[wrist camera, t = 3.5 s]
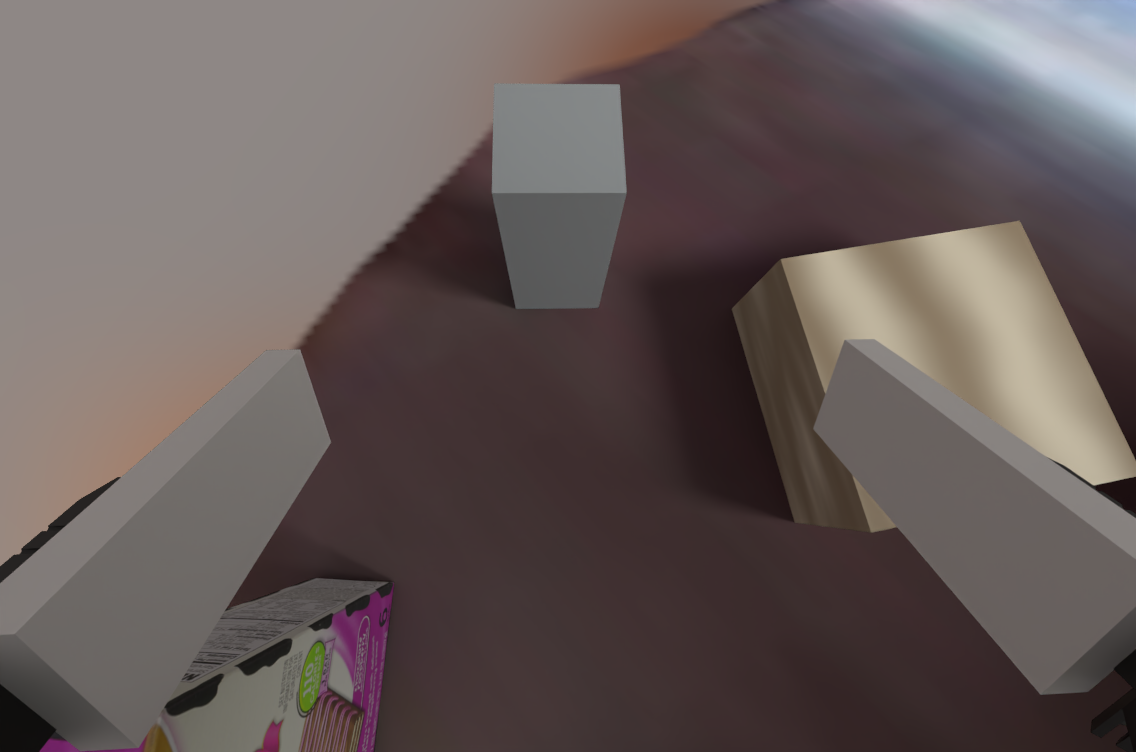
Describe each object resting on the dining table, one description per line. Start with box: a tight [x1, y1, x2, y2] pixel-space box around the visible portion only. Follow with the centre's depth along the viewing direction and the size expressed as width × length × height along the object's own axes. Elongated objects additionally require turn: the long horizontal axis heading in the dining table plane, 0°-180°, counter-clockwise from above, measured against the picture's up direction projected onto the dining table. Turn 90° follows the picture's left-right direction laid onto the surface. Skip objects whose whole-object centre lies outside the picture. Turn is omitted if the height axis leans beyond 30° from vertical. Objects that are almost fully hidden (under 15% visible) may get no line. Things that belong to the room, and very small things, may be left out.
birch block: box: [732, 221, 1136, 533], centre depth 26 cm, size 14×14×7 cm
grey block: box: [492, 84, 627, 309], centre depth 25 cm, size 6×6×12 cm
